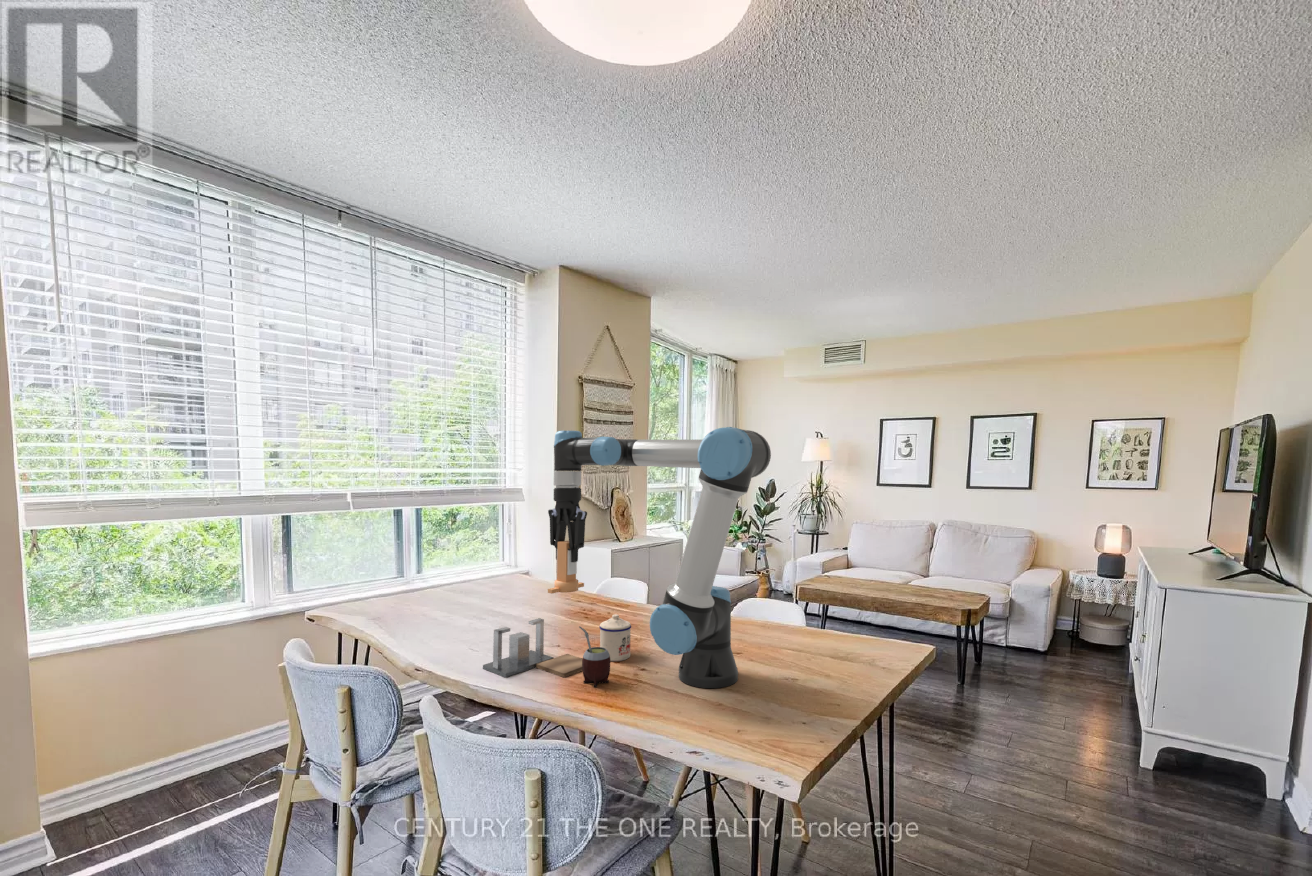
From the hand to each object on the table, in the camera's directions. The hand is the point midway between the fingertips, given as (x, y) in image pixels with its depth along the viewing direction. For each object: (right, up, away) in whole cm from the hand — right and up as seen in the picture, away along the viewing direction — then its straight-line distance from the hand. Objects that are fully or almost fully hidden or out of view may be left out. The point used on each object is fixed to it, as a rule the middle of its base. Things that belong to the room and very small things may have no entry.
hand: (566, 573), depth 152 cm
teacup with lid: (+13, -26, +8) cm, 30 cm away
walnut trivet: (0, -25, -1) cm, 25 cm away
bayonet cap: (0, -5, 0) cm, 5 cm away
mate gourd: (+9, -25, -13) cm, 29 cm away
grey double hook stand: (-13, -25, 0) cm, 28 cm away
